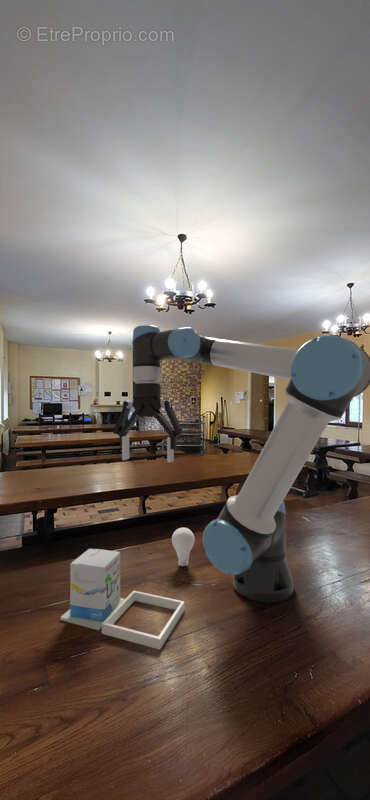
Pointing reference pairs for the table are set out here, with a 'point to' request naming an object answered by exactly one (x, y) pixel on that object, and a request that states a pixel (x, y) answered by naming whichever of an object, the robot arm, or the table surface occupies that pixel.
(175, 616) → the tray rim
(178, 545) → the light bulb
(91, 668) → the table surface
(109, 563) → the ink box
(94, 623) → the mat
